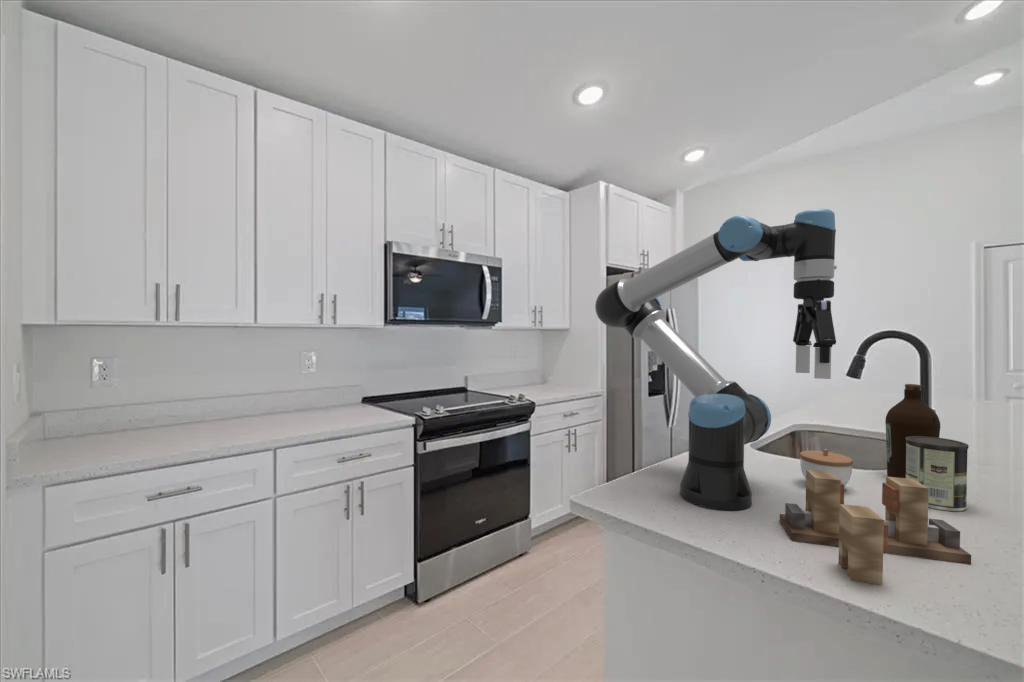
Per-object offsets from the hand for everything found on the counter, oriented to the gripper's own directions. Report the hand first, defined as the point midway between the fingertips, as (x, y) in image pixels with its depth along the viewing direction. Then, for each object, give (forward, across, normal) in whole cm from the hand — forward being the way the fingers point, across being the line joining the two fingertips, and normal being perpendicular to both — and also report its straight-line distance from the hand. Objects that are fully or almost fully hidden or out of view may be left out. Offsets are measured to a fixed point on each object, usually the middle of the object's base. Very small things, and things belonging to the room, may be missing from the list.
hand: (811, 375), depth 100 cm
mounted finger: (+27, -18, +3) cm, 33 cm away
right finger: (+27, -18, -10) cm, 34 cm away
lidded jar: (+29, +13, -7) cm, 32 cm away
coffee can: (+29, +9, -27) cm, 41 cm away
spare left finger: (+29, -32, +2) cm, 43 cm away
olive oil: (+29, +26, -30) cm, 49 cm away
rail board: (+29, -18, -4) cm, 34 cm away
